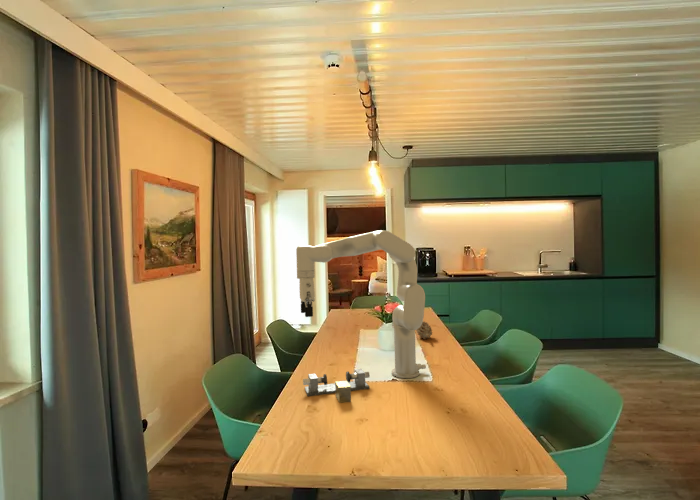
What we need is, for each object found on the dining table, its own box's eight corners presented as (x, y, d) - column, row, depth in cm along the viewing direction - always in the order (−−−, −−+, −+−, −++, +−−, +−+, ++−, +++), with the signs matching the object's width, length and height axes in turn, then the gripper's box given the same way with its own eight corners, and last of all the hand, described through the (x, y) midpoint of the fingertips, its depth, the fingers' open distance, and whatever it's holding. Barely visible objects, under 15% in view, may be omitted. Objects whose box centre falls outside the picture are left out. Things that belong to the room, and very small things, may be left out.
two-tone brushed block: (335, 396, 160) (335, 381, 160) (346, 395, 161) (346, 380, 161) (339, 403, 153) (339, 387, 153) (350, 401, 154) (350, 386, 154)
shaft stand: (366, 381, 175) (365, 366, 175) (371, 388, 167) (371, 372, 167) (302, 389, 168) (301, 373, 168) (305, 396, 160) (304, 380, 160)
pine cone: (414, 335, 255) (413, 320, 254) (428, 335, 255) (428, 319, 255) (422, 344, 233) (421, 327, 232) (438, 344, 233) (438, 327, 233)
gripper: (318, 275, 164) (319, 317, 164) (310, 272, 180) (311, 310, 181) (300, 276, 161) (301, 319, 162) (293, 273, 178) (294, 311, 178)
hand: (306, 314), depth 171 cm, fingers open, 9 cm apart
